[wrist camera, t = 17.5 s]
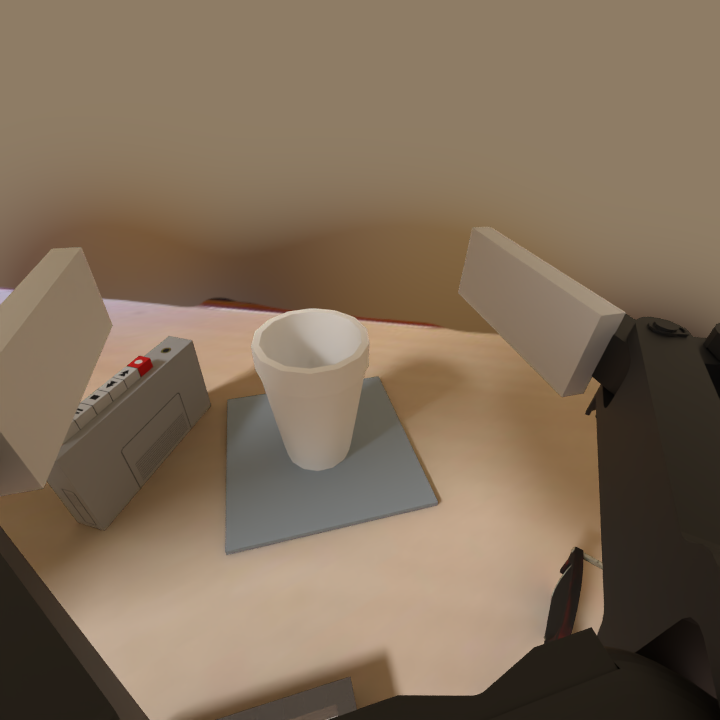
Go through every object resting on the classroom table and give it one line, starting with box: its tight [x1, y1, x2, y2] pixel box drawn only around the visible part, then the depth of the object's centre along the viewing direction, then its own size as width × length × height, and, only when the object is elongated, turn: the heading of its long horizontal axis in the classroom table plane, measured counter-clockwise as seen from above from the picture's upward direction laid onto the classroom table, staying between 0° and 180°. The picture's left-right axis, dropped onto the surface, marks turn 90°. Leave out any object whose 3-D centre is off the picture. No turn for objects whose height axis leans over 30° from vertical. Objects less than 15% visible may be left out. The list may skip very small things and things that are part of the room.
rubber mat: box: [225, 376, 438, 555], centre depth 39 cm, size 18×18×1 cm
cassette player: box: [47, 336, 211, 531], centre depth 35 cm, size 16×3×10 cm, turn 165°
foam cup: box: [251, 308, 369, 471], centre depth 35 cm, size 10×9×13 cm
